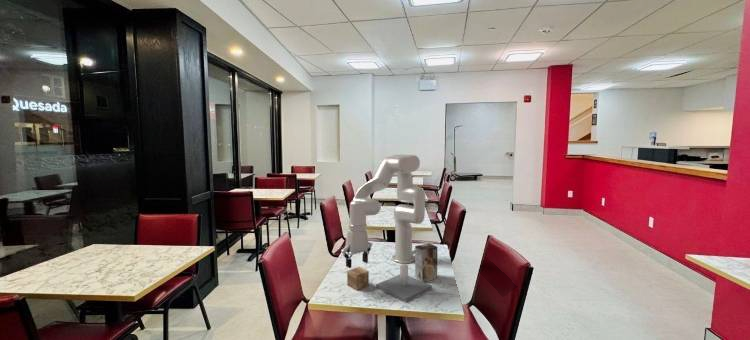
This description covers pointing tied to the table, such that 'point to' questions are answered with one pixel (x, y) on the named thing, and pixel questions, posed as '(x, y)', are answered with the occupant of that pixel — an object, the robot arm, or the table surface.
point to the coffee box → (426, 262)
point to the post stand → (404, 285)
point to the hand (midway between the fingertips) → (357, 264)
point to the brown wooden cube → (358, 278)
